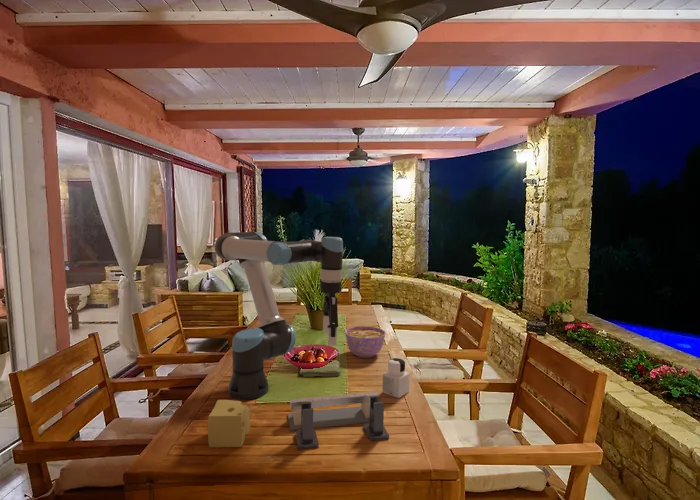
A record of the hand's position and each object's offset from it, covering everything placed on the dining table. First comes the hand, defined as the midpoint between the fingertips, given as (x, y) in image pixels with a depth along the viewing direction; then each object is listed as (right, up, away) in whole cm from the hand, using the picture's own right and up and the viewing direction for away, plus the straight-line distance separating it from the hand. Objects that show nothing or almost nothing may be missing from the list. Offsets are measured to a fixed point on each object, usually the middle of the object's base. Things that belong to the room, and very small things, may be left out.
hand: (329, 338), depth 142 cm
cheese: (-29, -26, -21) cm, 45 cm away
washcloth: (-6, -22, +32) cm, 39 cm away
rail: (+2, -20, -8) cm, 22 cm away
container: (+25, -24, +12) cm, 37 cm away
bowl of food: (+15, -20, +53) cm, 58 cm away
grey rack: (+5, -26, -19) cm, 33 cm away
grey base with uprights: (+2, -25, -8) cm, 26 cm away
